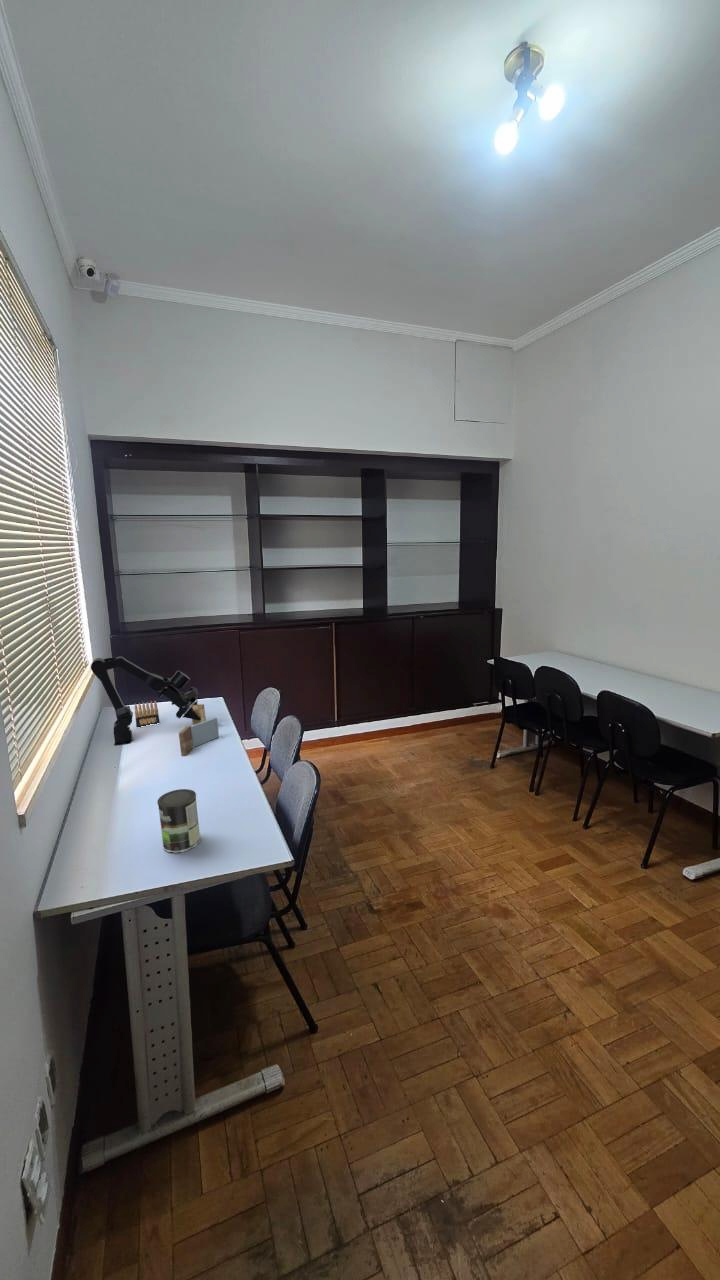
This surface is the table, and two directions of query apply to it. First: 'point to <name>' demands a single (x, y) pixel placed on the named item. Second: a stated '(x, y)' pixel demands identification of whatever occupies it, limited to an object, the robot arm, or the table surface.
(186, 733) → the partition wall
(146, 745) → the table surface
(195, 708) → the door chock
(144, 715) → the ammunition clip
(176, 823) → the coffee can
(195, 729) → the door
